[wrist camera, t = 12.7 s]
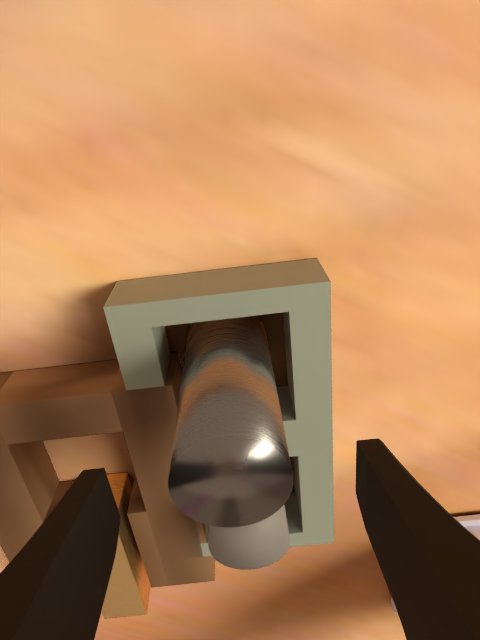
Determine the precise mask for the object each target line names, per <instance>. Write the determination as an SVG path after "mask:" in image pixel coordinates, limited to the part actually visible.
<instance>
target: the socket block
mask: <svg viewBox="0 0 480 640" xmlns="http://www.w3.org/2000/svg"><path fill="white" fill-rule="evenodd" d="M181 380H182V373H181V368H180V363H179V358H178V353H170V359H169V364H168V370H167V375H166V381H165V386H161V387H152V388H143V389H138V390H137V389H134V391H133V390H126V388H125V384H124V381H123V377H122V374H121V370H120V366H119V363H118V359H117V360H108V361H100V362H91V363H82V364H73V365H64V366H56V367H47V368H38V369H29V370H20V371H12V372H3V373H0V545H1V547H2V549H3V551H4V552H5V554H6V556H7V558H8V560H9V562H11V561H12V559H13V558H14V557H15V556H16V555H17V554H18V552H19V551H20V550H21V549H22V548H23V547H24V545H25V544H26V543H27V542H28V541H29V539H30V538H31V537H32V536H33V534H34V533H35V532H36V531H37V529H38V528H39V527H40V526H41V524H42V523H43V522H44V521H45V519H46V518H47V517H48V515H49V514H50V513H51V512H52V510H53V509H54V508H55V506H56V505H57V504H58V502H59V501H60V500H61V498H62V497H63V496H64V494H65V493H66V492H67V490H68V489H69V488H70V486H71V485H72V484H73V482H74V481H65V482H59V480H58V477H57V475H56V472H55V470H54V467H53V465H52V463H51V460H50V458H49V455H48V453H47V450H46V448H45V446H44V443H43V440H51V439H60V438H69V437H78V436H87V435H96V434H105V433H114V432H123V435H124V438H125V441H126V445H127V448H128V451H129V455H130V458H131V461H132V465H133V468H134V471H135V479H134V484H133V489H132V493H131V498H130V502H129V507H128V512H127V515H128V518H129V521H130V524H131V527H132V530H133V533H134V537H135V540H136V543H137V546H138V549H139V552H140V555H141V558H142V561H143V564H144V567H145V570H146V573H147V576H148V579H149V582H150V585H151V588H152V587H161V586H170V585H179V584H189V583H198V582H207V581H215V558H214V557H213V556H205V557H203V553H202V552H201V551H202V548H199V547H201V546H200V545H198V544H201V543H206V542H207V525H206V524H203V523H200V522H198V521H196V520H193V519H191V518H190V517H188V516H187V515H185V514H184V513H183V512H182V511H181V510H180V509H179V508H178V507H177V506H176V505H175V504H174V502H173V500H172V498H171V496H170V493H169V489H168V477H169V470H170V462H171V455H172V447H173V442H172V441H173V440H174V432H175V425H176V417H177V410H178V402H179V395H180V387H181ZM145 389H146V390H145ZM157 389H158V390H157ZM156 390H157V391H156ZM153 391H154V392H153ZM163 392H164V393H163ZM138 393H139V394H138ZM136 394H137V395H136ZM146 394H147V395H146ZM148 394H149V395H148ZM158 394H159V395H158ZM165 396H166V397H165ZM128 398H129V399H128ZM154 399H155V400H154ZM165 399H166V400H165ZM146 400H147V401H146ZM152 402H153V403H152ZM156 403H157V404H156ZM163 403H164V404H163ZM137 404H138V405H139V406H138V405H137ZM168 404H169V405H168ZM140 408H141V409H140ZM154 409H155V410H154ZM144 410H145V411H144ZM150 412H151V413H150ZM159 415H160V416H159ZM150 419H151V420H150ZM168 421H169V422H168ZM150 422H151V423H150ZM161 423H162V424H161ZM136 424H137V425H136ZM161 425H162V426H161ZM143 427H144V428H143ZM141 428H142V429H141ZM159 428H160V429H159ZM167 429H168V430H167ZM157 431H158V432H157ZM172 432H173V433H172ZM155 440H156V441H155ZM141 441H142V442H141ZM171 446H172V447H171ZM163 448H164V450H163ZM170 454H171V455H170ZM167 468H168V469H167ZM165 484H166V485H165ZM189 520H190V521H189ZM187 521H188V522H187ZM191 521H192V522H191ZM189 522H190V523H189ZM195 522H196V523H195ZM192 526H193V527H192ZM195 526H196V527H195ZM187 529H188V530H187ZM193 530H194V531H193ZM195 530H196V531H195ZM197 531H198V532H197ZM191 532H192V533H191ZM195 532H196V533H195ZM194 533H195V534H194ZM193 534H194V535H193ZM197 535H198V536H197ZM196 537H197V539H196ZM190 538H191V539H190ZM198 540H200V541H198ZM192 541H193V542H192ZM191 542H192V543H193V544H192V543H191ZM196 542H197V543H196ZM199 542H200V543H199ZM190 544H191V545H190ZM195 545H196V546H195ZM193 547H194V548H193ZM190 549H191V550H190ZM193 549H194V551H193ZM200 549H201V550H200ZM197 550H199V551H197ZM197 552H198V553H197ZM200 552H201V553H200ZM191 553H192V554H191ZM196 554H197V555H196ZM198 554H199V556H198ZM201 554H202V555H201ZM193 555H194V556H195V557H194V556H193Z"/></svg>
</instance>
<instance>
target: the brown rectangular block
mask: <svg viewBox="0 0 480 640" xmlns="http://www.w3.org/2000/svg"><path fill="white" fill-rule="evenodd" d="M107 478H108V481H109V484H110V487H111V490H112V493H113V496H114V499H115V501H116V504H117V507H118V510H119V513H120V516H121V519H120V527H119V535H118V543H117V549H116V555H115V559H114V564H113V568H112V572H111V576H110V580H109V583H108V587H107V591H106V595H105V599H104V603H103V607H102V614H103V616H104V618H105V619H108V618H117V617H126V616H136V615H145V614H147V609H148V602H149V595H150V587H151V585H150V582H149V579H148V576H147V573H146V570H145V567H144V564H143V561H142V558H141V555H140V552H139V549H138V546H137V543H136V540H135V537H134V533H133V530H132V527H131V524H130V521H129V518H128V515H127V512H128V507H129V502H130V498H131V493H132V486H131V483H130V480H129V477H128V473H127V472H126V473H117V474H108V475H107Z"/></svg>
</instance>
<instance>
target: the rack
mask: <svg viewBox="0 0 480 640" xmlns="http://www.w3.org/2000/svg"><path fill="white" fill-rule="evenodd" d="M103 309H104V312H105V316H106V320H107V323H108V327H109V330H110V334H111V338H112V341H113V345H114V348H115V352H116V356H117V359H118V363H119V366H120V370H121V374H122V377H123V381H124V384H125V388H126V390H133V391H134V389H137V390H138V389H143V388H152V387H161V386H165V381H166V375H167V370H168V364H169V359H170V349H169V344H168V339H167V335H166V330H165V326H168V325H177V324H186V323H195V322H203V321H212V320H221V319H229V318H238V317H247V316H256V315H264V314H273V313H282V312H283V322H284V336H285V350H286V365H287V379H288V385H287V386H278V387H276V388H277V394H278V399H279V404H280V409H281V415H282V420H283V425H284V431H285V436H286V441H287V447H288V452H289V457H293V465H294V479H295V493H291V494H290V497H289V498H288V500H287V501H286V503H285V504H284V505H283V506H282V507H281V508H280V509H279V510H278V511H277V512H276V513H274V514H273V515H272V516H270V517H268V518H266V519H264V520H262V521H260V522H257V523H254V524H251V525H247V526H241V527H216V526H211V525H207V542H206V543H201V544H198V545H200V546H201V547H199V548H202V551H201V552H202V553H203V557H205V556H213V557H214V558H215V559H216V560H217V561H218V562H220V563H221V564H223V565H225V566H228V567H231V568H236V569H247V570H248V569H258V568H262V567H265V566H268V565H270V564H273V563H274V562H276V561H278V560H279V559H280V558H281V557H282V556H283V555H284V554H285V553H286V552H287V550H288V548H289V547H298V546H307V545H316V544H325V543H334V500H333V429H332V358H331V286H330V280H329V278H328V276H327V274H326V273H325V271H324V269H323V268H322V266H321V264H320V262H319V261H318V259H317V258H313V259H304V260H296V261H287V262H278V263H270V264H261V265H252V266H244V267H235V268H227V269H218V270H209V271H201V272H192V273H183V274H175V275H166V276H158V277H149V278H140V279H132V280H123V281H117V282H116V284H115V286H114V288H113V290H112V292H111V294H110V295H109V297H108V299H107V301H106V303H105V305H104V307H103ZM145 390H146V389H145ZM157 390H158V389H157ZM157 390H156V391H157ZM153 392H154V391H153ZM163 393H164V392H163ZM138 394H139V393H138ZM136 395H137V394H136ZM146 395H147V394H146ZM148 395H149V394H148ZM158 395H159V394H158ZM165 397H166V396H165ZM128 399H129V398H128ZM154 400H155V399H154ZM165 400H166V399H165ZM146 401H147V400H146ZM152 403H153V402H152ZM156 404H157V403H156ZM163 404H164V403H163ZM137 405H138V404H137ZM168 405H169V404H168ZM138 406H139V405H138ZM140 409H141V408H140ZM154 410H155V409H154ZM144 411H145V410H144ZM150 413H151V412H150ZM159 416H160V415H159ZM150 420H151V419H150ZM168 422H169V421H168ZM150 423H151V422H150ZM161 424H162V423H161ZM136 425H137V424H136ZM161 426H162V425H161ZM143 428H144V427H143ZM141 429H142V428H141ZM159 429H160V428H159ZM167 430H168V429H167ZM157 432H158V431H157ZM172 433H173V432H172ZM155 441H156V440H155ZM141 442H142V441H141ZM172 442H173V441H172ZM171 447H172V446H171ZM163 450H164V448H163ZM170 455H171V454H170ZM167 469H168V468H167ZM165 485H166V484H165ZM191 519H192V518H191ZM189 521H190V520H189ZM187 522H188V521H187ZM191 522H192V521H191ZM189 523H190V522H189ZM195 523H196V522H195ZM192 527H193V526H192ZM195 527H196V526H195ZM187 530H188V529H187ZM193 531H194V530H193ZM195 531H196V530H195ZM197 532H198V531H197ZM191 533H192V532H191ZM195 533H196V532H195ZM195 533H194V534H195ZM194 534H193V535H194ZM197 536H198V535H197ZM190 539H191V538H190ZM196 539H197V537H196ZM198 541H200V540H198ZM192 542H193V541H192ZM192 542H191V543H192ZM196 543H197V542H196ZM199 543H200V542H199ZM192 544H193V543H192ZM190 545H191V544H190ZM195 546H196V545H195ZM193 548H194V547H193ZM190 550H191V549H190ZM200 550H201V549H200ZM193 551H194V549H193ZM197 551H199V550H197ZM201 552H200V553H201ZM197 553H198V552H197ZM191 554H192V553H191ZM196 555H197V554H196ZM201 555H202V554H201ZM193 556H194V555H193ZM198 556H199V554H198ZM194 557H195V556H194Z"/></svg>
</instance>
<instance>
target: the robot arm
mask: <svg viewBox="0 0 480 640" xmlns="http://www.w3.org/2000/svg"><path fill="white" fill-rule="evenodd" d="M356 495H357V499H358V503H359V507H360V510H361V514H362V518H363V521H364V525H365V528H366V531H367V534H368V536H369V539H370V542H371V544H372V547H373V550H374V552H375V555H376V557H377V560H378V562H379V565H380V568H381V570H382V573H383V575H384V578H385V580H386V583H387V586H388V588H389V591H390V593H391V606H392V609H393V610H394V611H397V612H398V614H399V617H400V620H401V623H402V626H403V629H404V632H405V636H406V639H407V640H480V514H476V515H467V516H458V517H453V516H452V515H451V514H450V513H448V512H447V511H446V510H445V509H444V508H443V507H442V506H441V505H440V504H439V503H438V502H437V501H436V500H435V499H434V498H433V497H432V496H431V495H430V494H429V493H428V492H427V491H426V490H425V489H424V488H423V487H422V486H421V485H420V484H419V483H418V482H417V481H416V479H415V478H414V477H413V476H412V475H411V474H410V473H409V472H408V471H407V470H406V469H405V468H404V466H403V465H402V464H401V463H400V462H399V461H398V460H397V459H396V457H395V456H394V455H393V454H392V453H391V452H390V450H389V449H388V448H387V447H386V446H385V444H384V443H383V442H382V441H381V440H380V439H369V440H359V441H357V451H356ZM120 519H121V516H120V513H119V510H118V507H117V504H116V501H115V499H114V496H113V493H112V490H111V487H110V484H109V481H108V478H107V475H106V472H105V469H104V468H99V469H90V470H83V471H82V472H81V473H80V475H79V476H78V477H77V479H76V480H75V481H74V482H73V484H72V485H71V486H70V488H69V489H68V490H67V492H66V493H65V494H64V496H63V497H62V498H61V500H60V501H59V502H58V504H57V505H56V506H55V508H54V509H53V510H52V512H51V513H50V514H49V515H48V517H47V518H46V519H45V521H44V522H43V523H42V524H41V526H40V527H39V528H38V529H37V531H36V532H35V533H34V534H33V536H32V537H31V538H30V539H29V541H28V542H27V543H26V544H25V545H24V547H23V548H22V549H21V550H20V551H19V552H18V554H17V555H16V556H15V557H14V558H13V559H12V561H11V562H10V563H9V564H8V565H7V566H6V568H5V569H4V570H3V571H2V572H1V573H0V640H94V638H95V634H96V630H97V626H98V622H99V618H100V614H101V611H102V607H103V603H104V599H105V595H106V591H107V587H108V583H109V580H110V576H111V572H112V568H113V564H114V559H115V555H116V549H117V543H118V535H119V527H120Z"/></svg>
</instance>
